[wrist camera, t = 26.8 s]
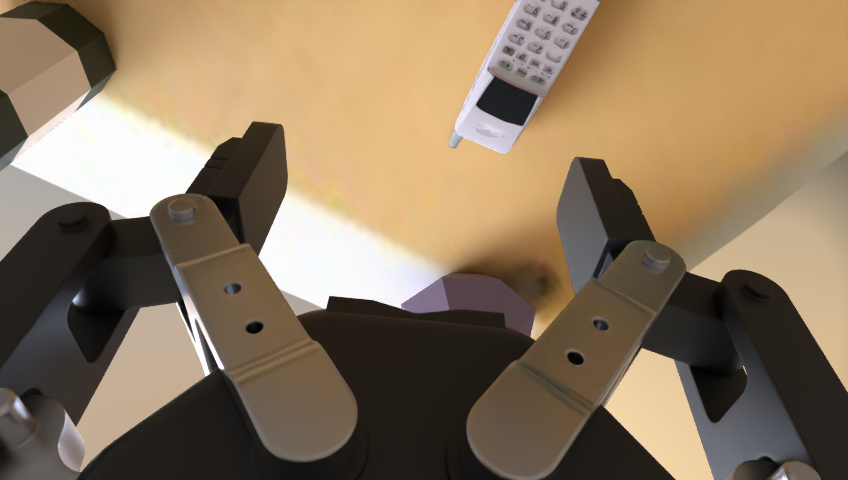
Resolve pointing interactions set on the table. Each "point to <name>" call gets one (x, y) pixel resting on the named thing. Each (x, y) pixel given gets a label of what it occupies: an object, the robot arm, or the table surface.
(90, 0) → the table surface
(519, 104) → the mobile phone
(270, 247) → the table surface
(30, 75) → the wine bottle
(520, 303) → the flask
